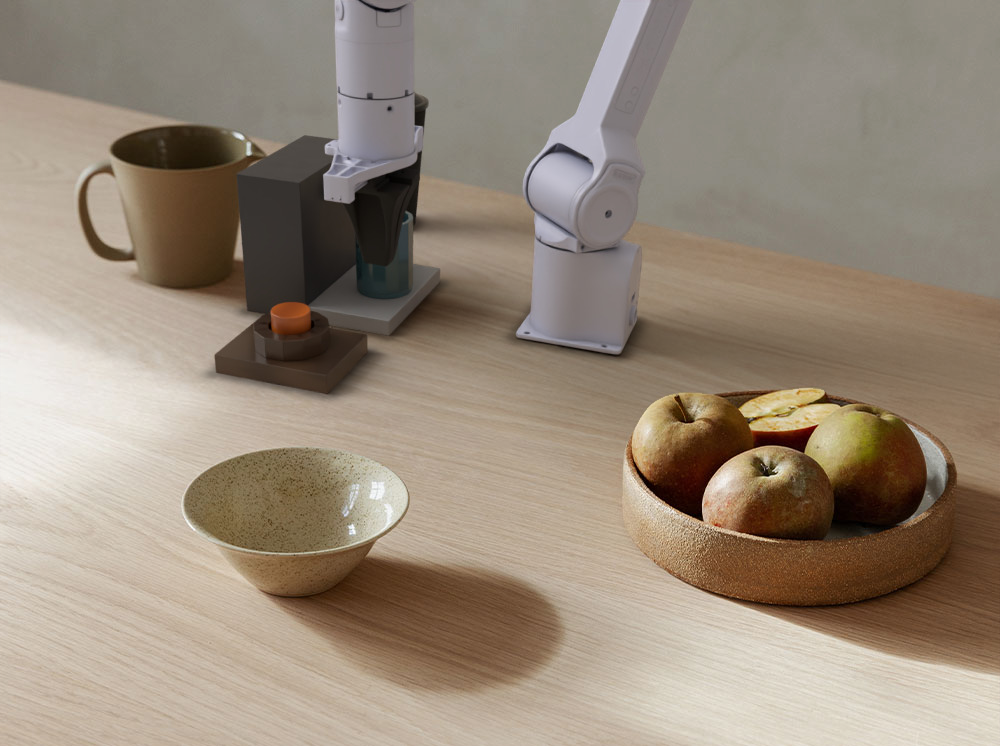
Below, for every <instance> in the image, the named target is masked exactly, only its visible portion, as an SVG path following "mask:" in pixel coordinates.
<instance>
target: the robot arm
mask: <svg viewBox="0 0 1000 746" xmlns="http://www.w3.org/2000/svg"><path fill="white" fill-rule="evenodd" d="M333 1H334V49H335V50H334V51H335V52H334V53H335V54H334V55H335V79H336V80H335V81H336V106H337V107H336V108H337V135H338V137H337V139H338V140H333V141H331V142H329V143H327V144H326V145H325V153H326V154H327V155H332V156H334V158H333V161H332V164H331V167H330V169H329V171H328V172H326V173H325V174H324V175H323V178H324V200H327V201H334V202H342V203H343V205H344V207H345V208H346V210H347V212H348V214H349V217H350V219H351V222H352V224H353V227H354V230H355V234H356V237H357V241H358V244H359V248H360V251H361V255H362V258H363V261H364V263H368V264H374V265H381V266H388V265H389V264H390V263H391V262H392V261H393V260H394V257H395V253H396V249H397V245H398V240H399V236H400V231H401V227H402V222H403V219H404V215H405V212H406V209H407V206H408V204H409V201H410V199H411V196H412V194H413V192H414V190H415V188H416V187H417V185H418V183H419V184H420V181H421V171H420V172H419V171H418V170H415V169H410V168H405V167H408V166H410V165H412V164H414V163H415V162H416V160H417V153H418V152H420V151H421V150H422V151H423V150H424V136H423V127H422V126H415V105H414V92H415V2H417V0H333ZM693 2H694V0H619V3H618V5H617V8H616V11H615V13H614V16H613V18H612V20H611V23H610V25H609V28H608V31H607V33H606V36H605V39H604V41H603V44H602V47H601V49H600V51H599V53H598V56H597V58H596V61H595V64H594V66H593V68H592V71H591V74H590V76H589V79H588V81H587V84H586V86H585V89H584V91H583V93H582V97H581V99H580V101H579V104H578V107H577V109H576V112H575V114H574V115H573V116H572V117H570V118H568V119H567V120H565V121H564V122H562V123H561V124H559V125H557V126H556V127H554V128H553V129H552V130H551V132H550V133H549V136H548V140H547V141H546V144H545V145H544V146H543V148H542V150H540V152H539V153H538V154H537V155H536V156H535V157H533V159H532V160H531V162H530V163H529V164H528V166H527V168H526V170H525V173H524V176H523V179H522V195H523V198H524V200H525V203H526V205H527V206H528V207H529V209H530V210H531V211H533V212H534V217H533V218H534V219H533V225H534V241H533V243H534V244H533V245H534V246H533V261H532V262H533V264H532V281H531V297H530V298H531V299H530V311H529V313H528V315H526V317H525V319H524V320H523V322H521V324H520V326H518V328H517V330H516V332H515V336H516V338H518V339H523V340H528V341H535V342H540V343H545V344H546V343H547V344H552V345H558V346H564V347H570V348H576V349H580V350H581V349H582V350H587V351H593V352H599V353H604V354H611V355H620V354H622V352H623V350H624V348H625V346H626V344H627V342H628V340H629V338H630V335H631V333H632V332H633V330H634V328H635V326H636V323H637V321H638V303H639V297H640V296H639V294H640V285H641V275H642V267H643V266H642V265H643V247H642V245H641V244H638V243H634V242H631V241H627V240H626V239H624V238H625V236H626V235H627V234H628V233H629V232H630V230H631V229H632V227H633V226H634V223H635V221H636V218H637V215H638V211H639V192H640V188H641V185H642V181H643V179H644V177H645V175H646V169H645V165H644V162H643V159H642V156H641V153H640V150H639V147H638V144H637V137H638V135H639V132H640V130H641V128H642V125H643V122H644V120H645V118H646V116H647V113H648V110H649V108H650V106H651V104H652V101H653V98H654V96H655V94H656V92H657V89H658V86H659V84H660V81H661V79H662V77H663V74H664V72H665V70H666V67H667V65H668V62H669V60H670V57H671V55H672V53H673V50H674V48H675V46H676V43H677V41H678V38H679V36H680V33H681V32H682V29H683V26H684V25H685V22H686V19H687V17H688V14H689V12H690V10H691V7H692V5H693Z"/></svg>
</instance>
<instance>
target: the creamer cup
mask: <svg viewBox="0 0 1000 746" xmlns="http://www.w3.org/2000/svg"><path fill="white" fill-rule="evenodd" d="M355 247H356V282H357V290H358V292H359V293H360V294H362V295H364V296H366V297H370V298H374V299H395V298H400V297H403V296H405V295H407V294H409V293H410V292H411V291H412V289H413V264H414V226H413V216H412V214H411V213H409V212H407V211H406V212H405V215H404V219H403V222H402V227H401V231H400V236H399V240H398V245H397V249H396V253H395V257H394V260H393V261H392V262H391V263H390V264H389V265H388V266H381V265H374V264H368V263H364V261H363V258H362V255H361V251H360V248H359V244H358V241H357V237H356V234H355Z"/></svg>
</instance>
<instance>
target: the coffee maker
mask: <svg viewBox="0 0 1000 746" xmlns="http://www.w3.org/2000/svg"><path fill="white" fill-rule="evenodd" d="M333 140H338V138H330V137H323V136H313V135H306V134H305V135H304V134H303V135H302V136H301V137H298V138H297V139H295V140H293V141H292V142H290V143H288V144H286V145H285V146H283V147H281V148H280V149H277V150H276V151H274V152H272V153H271V154H269V155H267V156H265V157H264V158H261V159H259V160H258V161H256V162H254V163H253V164H251V165H249V166H248V167H246V168H244V169H242V170H240V171H238V172H237V173H236V186H237V198H238V199H237V200H238V211H239V223H240V224H239V225H240V237H241V248H242V262H243V275H244V289H245V299H246V301H245V302H246V310H247V312H251V313H257V314H262V315H265V314H268V313H271V309H272V308H273V307H274V306H276V305H278V304H281V303H286V302H298V303H303V304H305V305H307V306H309V308H310V311H314V312H318V313H319V314H321V315H323V316H325V317H326V318H328V321H329V327H330V326H331V327H337V328H343V329H348V330H354V331H359V332H366V333H371V334H375V335H383V336H387V337H390V336H391V334H393V332H395V330H396V329H397V328H398V327H399V326H400V325H401V324H402V323H403V322H404V321H405V320H406V318H408V317H409V315H411V313H412V312H413V311H414V310H415V309H416V308H417V307H418V306H419V305H420V304H421V303H422V302H423V301H424V299H426V297H427V296H428V295H429V294H430V293H431V292H433V290H434V289H435V288H436V287H437V286H438V285H439V284H440V283H441V268H440V267H436V266H430V265H422V264H416V263H413V289H412V291H411V292H410V293H409V294H407V295H405V296H403V297H400V298H395V299H374V298H370V297H366V296H364V295H362V294H360V293H359V292H358V290H357V282H356V247H355V230H354V227H353V224H352V222H351V219H350V217H349V214H348V212H347V210H346V208H345V207H344V205H343V203H342V202H334V201H327V200H324V178H323V175H324V174H325V173H326V172H328V171H329V169H330V167H331V164H332V161H333V158H334V156H332V155H327V154H326V153H325V145H326V144H327V143H329V142H331V141H333Z"/></svg>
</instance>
